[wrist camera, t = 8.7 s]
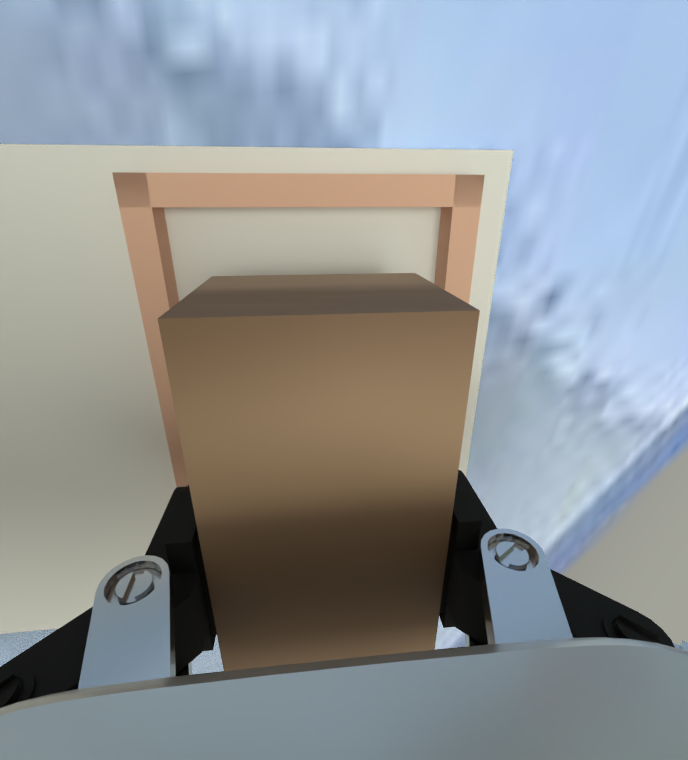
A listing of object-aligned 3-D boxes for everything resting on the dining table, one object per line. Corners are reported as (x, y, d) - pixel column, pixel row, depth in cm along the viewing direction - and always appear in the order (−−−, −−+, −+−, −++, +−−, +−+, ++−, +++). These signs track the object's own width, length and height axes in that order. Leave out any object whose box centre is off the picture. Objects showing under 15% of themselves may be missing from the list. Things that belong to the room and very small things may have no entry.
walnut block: (211, 276, 10) (157, 318, 6) (415, 272, 10) (479, 310, 6) (255, 617, 14) (240, 757, 11) (392, 605, 15) (422, 735, 11)
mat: (-160, 638, 17) (-201, 676, 15) (-534, 140, 10) (-672, 129, 8) (445, 582, 19) (457, 611, 18) (505, 152, 12) (531, 145, 11)
